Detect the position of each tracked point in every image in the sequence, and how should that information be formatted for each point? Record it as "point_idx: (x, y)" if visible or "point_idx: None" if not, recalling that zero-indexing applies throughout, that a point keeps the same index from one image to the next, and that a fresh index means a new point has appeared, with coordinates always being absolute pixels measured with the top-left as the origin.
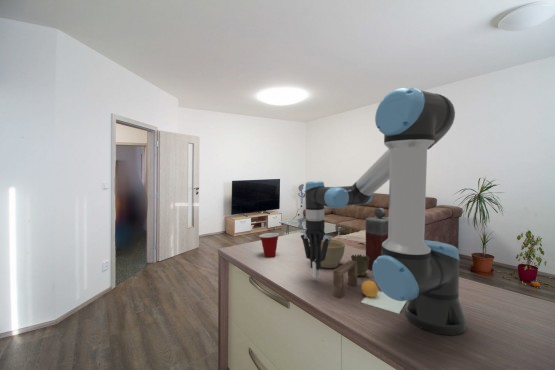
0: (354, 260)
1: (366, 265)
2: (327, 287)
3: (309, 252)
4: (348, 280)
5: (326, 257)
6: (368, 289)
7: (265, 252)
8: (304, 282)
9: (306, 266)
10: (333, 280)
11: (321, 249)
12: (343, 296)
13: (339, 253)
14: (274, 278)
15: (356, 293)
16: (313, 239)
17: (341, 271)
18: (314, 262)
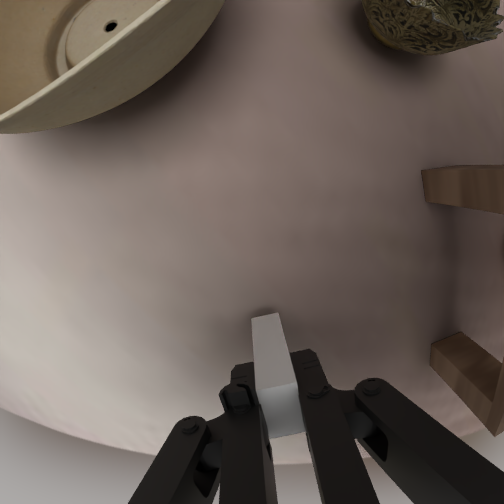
0: (451, 34)
1: (473, 23)
2: (369, 328)
3: (180, 464)
4: (440, 202)
5: (151, 80)
6: None
7: None
8: (230, 378)
9: (41, 179)
10: (467, 405)
11: (65, 98)
12: (461, 334)
13: None
14: (101, 431)
15: (487, 264)
16: None
17: None
18: (293, 431)
